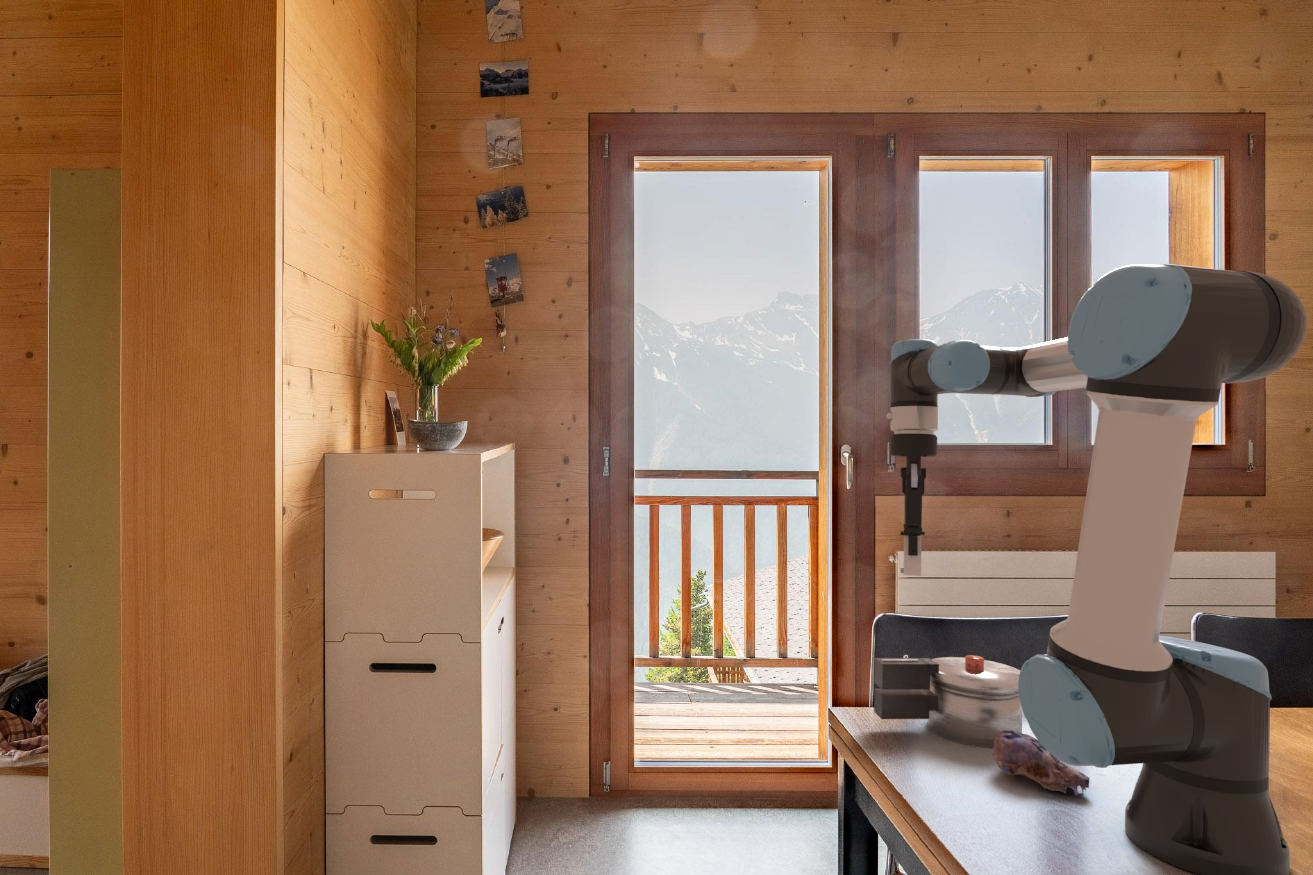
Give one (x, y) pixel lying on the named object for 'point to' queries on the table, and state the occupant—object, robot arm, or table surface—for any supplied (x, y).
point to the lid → (946, 674)
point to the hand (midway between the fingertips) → (912, 574)
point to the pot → (954, 712)
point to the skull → (1035, 762)
